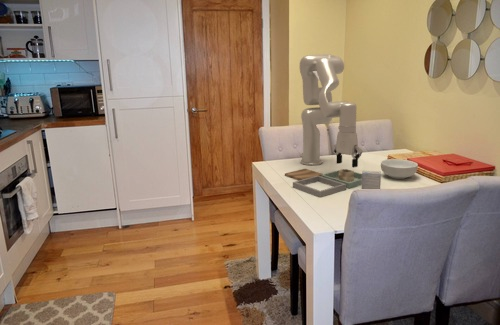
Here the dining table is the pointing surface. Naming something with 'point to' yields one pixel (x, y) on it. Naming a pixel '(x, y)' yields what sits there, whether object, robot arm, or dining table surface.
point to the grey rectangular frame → (336, 188)
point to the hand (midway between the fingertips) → (346, 165)
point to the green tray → (348, 184)
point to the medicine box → (371, 179)
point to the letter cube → (346, 175)
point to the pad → (302, 174)
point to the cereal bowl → (399, 168)
